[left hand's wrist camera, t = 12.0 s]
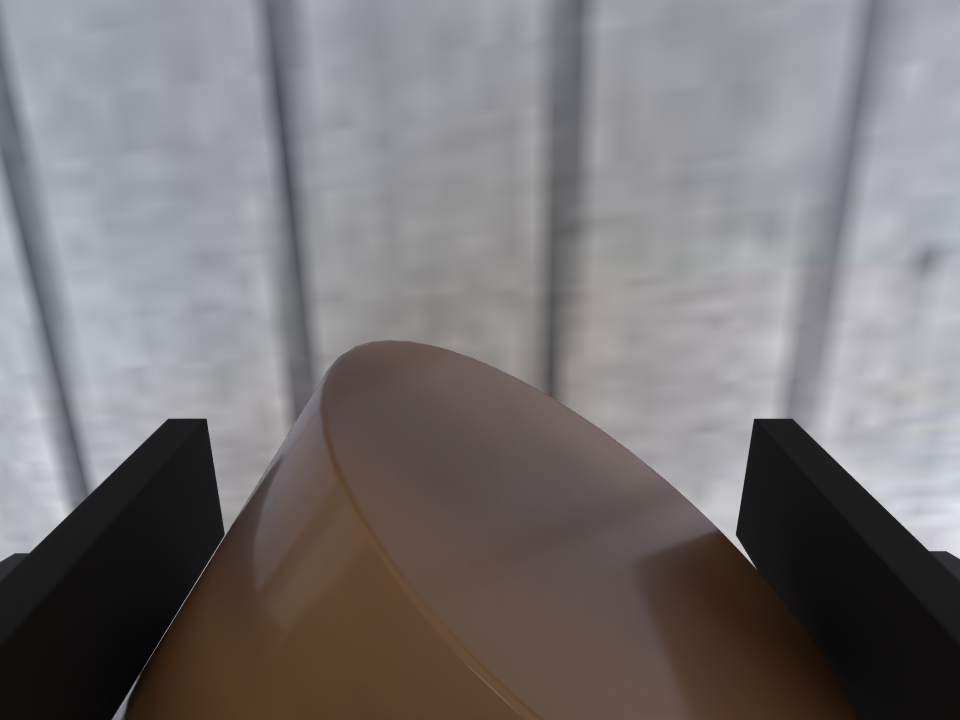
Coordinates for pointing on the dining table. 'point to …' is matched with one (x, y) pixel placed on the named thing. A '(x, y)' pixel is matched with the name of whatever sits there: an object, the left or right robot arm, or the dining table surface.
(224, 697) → the rod
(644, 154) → the dining table surface
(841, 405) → the dining table surface
